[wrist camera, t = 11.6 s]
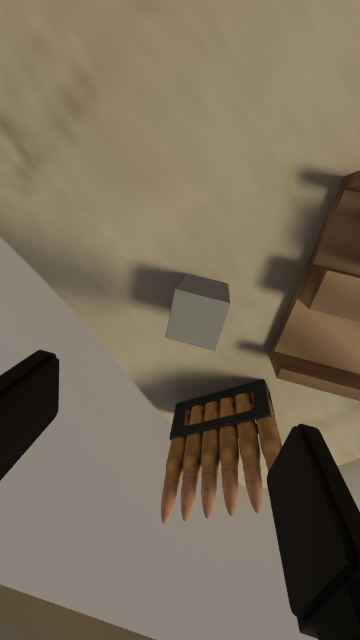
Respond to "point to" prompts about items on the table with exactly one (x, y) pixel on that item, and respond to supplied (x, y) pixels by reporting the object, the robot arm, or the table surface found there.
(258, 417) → the ammunition clip
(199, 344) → the rubber block
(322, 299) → the slot rack
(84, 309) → the table surface
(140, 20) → the table surface
